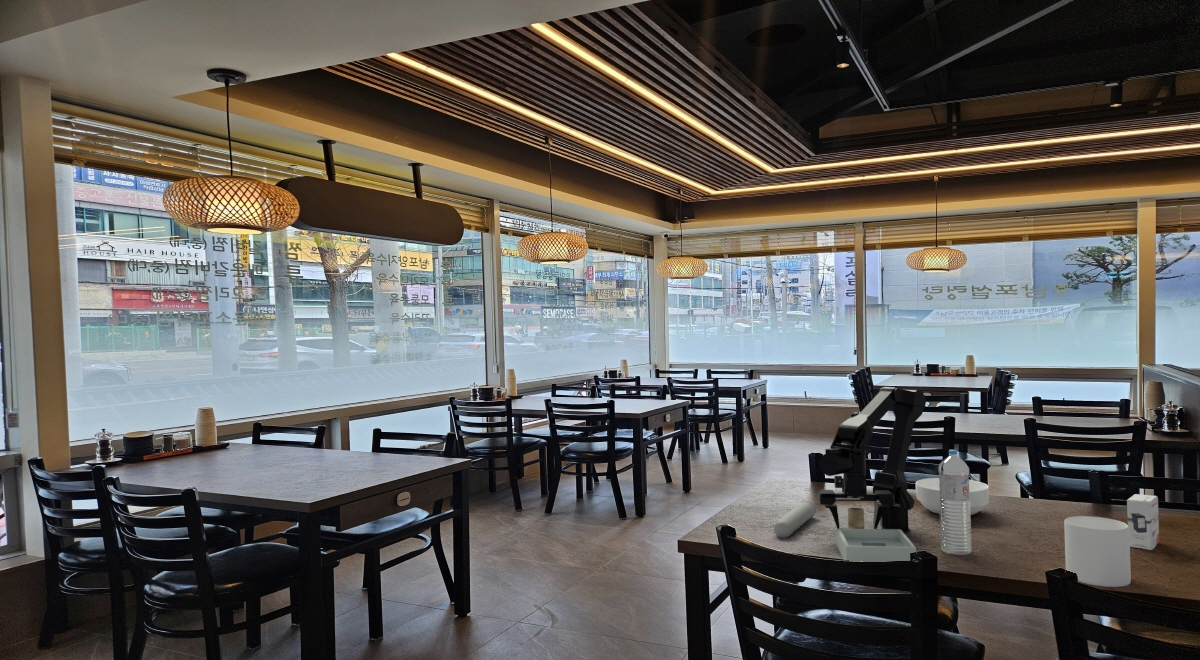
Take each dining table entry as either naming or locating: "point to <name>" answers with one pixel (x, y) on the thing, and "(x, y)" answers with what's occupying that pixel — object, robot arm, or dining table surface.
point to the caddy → (874, 545)
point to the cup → (1098, 550)
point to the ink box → (1143, 521)
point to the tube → (794, 519)
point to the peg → (855, 518)
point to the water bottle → (954, 505)
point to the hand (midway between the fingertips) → (856, 530)
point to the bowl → (931, 493)
